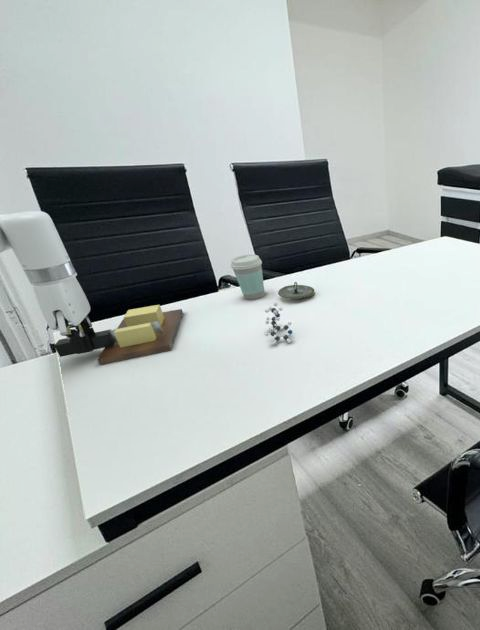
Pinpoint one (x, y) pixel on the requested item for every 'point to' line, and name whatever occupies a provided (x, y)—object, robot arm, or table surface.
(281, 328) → the molecule model
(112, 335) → the knife
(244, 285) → the coffee cup
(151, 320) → the butter block
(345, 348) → the table surface
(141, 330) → the butter slice
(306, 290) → the lid
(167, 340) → the board
